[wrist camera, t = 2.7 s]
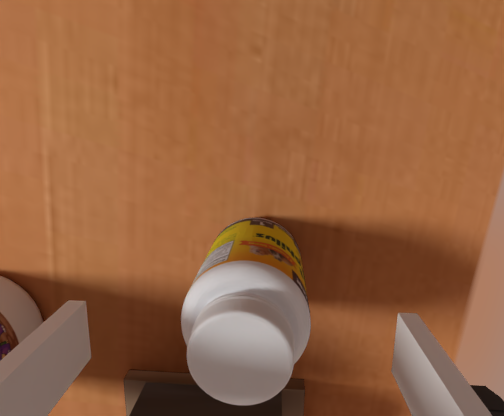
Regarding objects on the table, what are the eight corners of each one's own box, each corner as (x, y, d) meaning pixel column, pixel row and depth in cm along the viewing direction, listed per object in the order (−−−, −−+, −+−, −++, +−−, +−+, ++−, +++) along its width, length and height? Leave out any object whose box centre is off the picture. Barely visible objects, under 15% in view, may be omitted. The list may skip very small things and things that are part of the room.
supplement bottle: (319, 265, 23) (349, 377, 13) (249, 313, 24) (229, 449, 15) (262, 195, 23) (251, 260, 13) (193, 249, 24) (132, 347, 14)
